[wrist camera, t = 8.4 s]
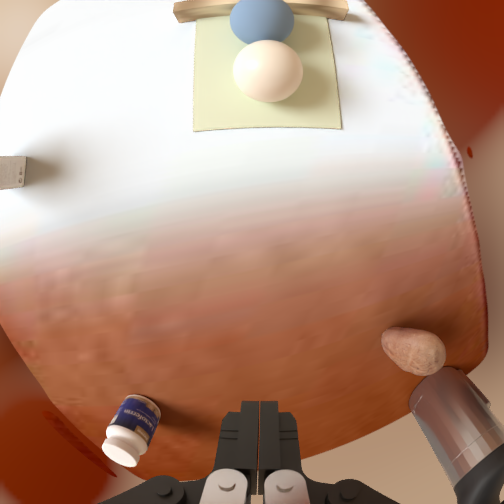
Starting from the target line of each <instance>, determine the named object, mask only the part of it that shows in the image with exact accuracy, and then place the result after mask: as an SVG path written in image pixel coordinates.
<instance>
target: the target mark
mask: <svg viewBox="0 0 504 504" xmlns="http://www.w3.org/2000/svg"><path fill="white" fill-rule="evenodd" d="M293 15H294V26H293V29H292V32H291V33H290V35H289V36H288V37H287V38H286V39H285V40H284V41H282V42H281V43H284V44H286V45H288V46H289V47H291V48H292V49H293V50H294V51H295V52H296V53H297V55H298V56H299V58H300V60H301V63H302V66H303V78H302V81H301V83H300V85H299V87H298V89H297V90H296V91H295V92H294V93H293V94H292V95H291V96H289V97H288V98H286V99H283V100H281V101H277V102H261V101H257V100H254V99H252V98H250V97H248V96H247V95H245V94H244V93H243V92H242V91H241V90H240V89H239V87H238V86H237V84H236V82H235V79H234V75H233V65H234V62H235V59H236V57H237V55H238V54H239V53H240V51H241V50H242V49H243V48H245V47H246V46H247V45H249V44H247V43H244V42H243V41H241V40H240V39H239V38H238V37H237V36H236V35H235V34H234V33H233V31H232V29H231V26H230V15H228V16H217V17H209V18H201V19H196V34H195V54H194V86H193V131H194V132H196V131H206V130H218V129H233V128H255V127H308V128H330V129H341V121H340V109H339V99H338V89H337V81H336V73H335V65H334V58H333V52H332V46H331V40H330V34H329V29H328V23H327V18H326V17H320V16H310V15H296V14H293Z"/></svg>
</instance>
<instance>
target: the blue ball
mask: <svg viewBox="0 0 504 504" xmlns="http://www.w3.org/2000/svg"><path fill="white" fill-rule="evenodd" d="M230 26H231V29H232V31H233V33H234V34H235V35H236V36H237V37H238V38H239V39H240V40H241V41H243V42H244V43H247V44H251V43H253V42H256V41H260V40H275V41H279V42H282V41H284V40H285V39H286V38H287V37H288V36H289V35H290V33H291V32H292V29H293V26H294V15H293V12H292V10H291V8H290V7H289V6H288V4H287V3H286V2H284V1H283V0H240V1H239V2H238V3H237V4H236V5H235V6H234V7H233V9H232V11H231V14H230Z"/></svg>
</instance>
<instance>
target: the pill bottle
mask: <svg viewBox="0 0 504 504" xmlns="http://www.w3.org/2000/svg"><path fill="white" fill-rule="evenodd" d="M160 417H161V413H160V410H159V408H158V407H157V405H156V404H155V403H154V402H152V401H151V400H150V399H148V398H146V397H144V396H141V395H135V394H134V395H129V396H127V397H126V398H125V400H124V401H123V403H122V404H121V406H120V408H119V409H118V411H117V413H116V414H115V416H114V418H113V419H112V421H111V423H110V424H109V426H108V428H107V431H106V435H107V438H108V439H106V440H105V441H104V443H103V445H102V449H103V451H104V453H105V454H106V455H107V456H108V457H109V458H111V459H112V460H113V461H115V462H117V463H119V464H121V465H124V466H128V467H134V466H136V465H137V463H138V461H139V455H142V454H144V453H145V452H146V451H147V449H148V446H149V444H150V442H151V439H152V437H153V434H154V432H155V430H156V427H157V425H158V422H159V420H160Z"/></svg>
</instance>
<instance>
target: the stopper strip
mask: <svg viewBox="0 0 504 504" xmlns="http://www.w3.org/2000/svg"><path fill="white" fill-rule="evenodd" d="M239 1H240V0H187V1H182V2H177V3H174V9H173V13H174V15H175V16H176V18H177V20H178V22H179V23H182V22H188V21H194V20H196V19H201V18H209V17H217V16H228V15H230V14H231V11H232V9H233V7H234V6H235V5H236V4H237V3H238V2H239ZM283 1H284V2H286V3H287V4H288V6H289V7H290V8H291V10H292V12H293V14H296V15H310V16H320V17H326V18H330V19H337V20H344V18H345V16H346V14H347V12H348V10H349V7H348V4H347V0H283Z"/></svg>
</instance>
